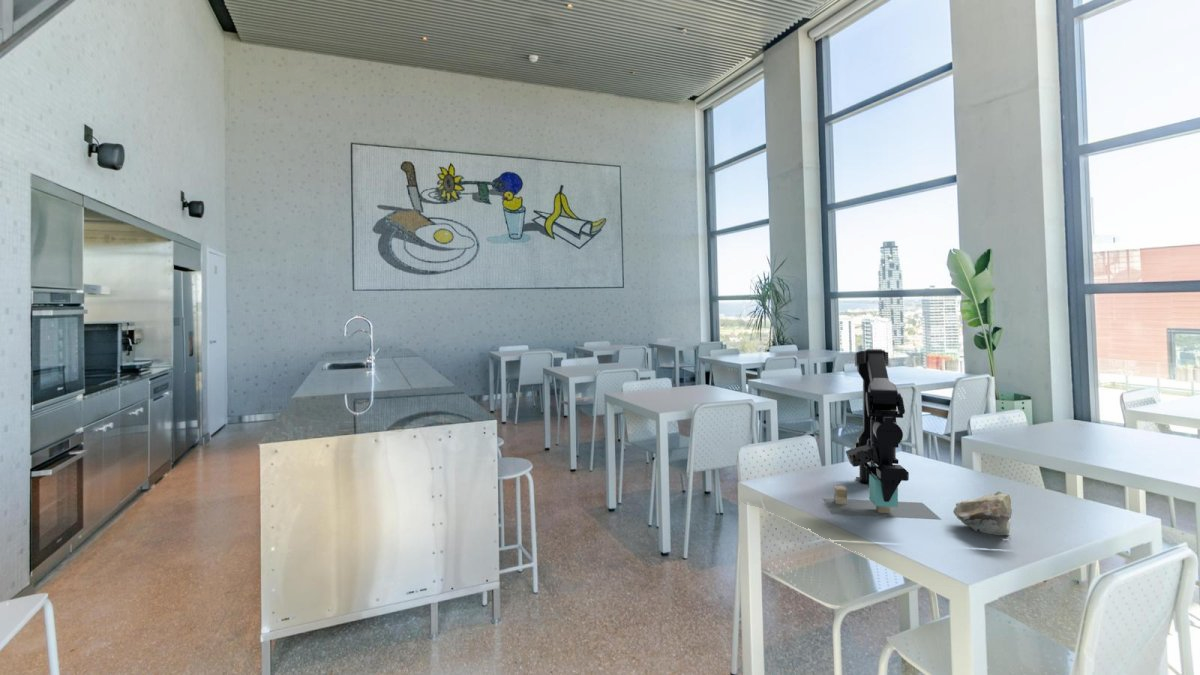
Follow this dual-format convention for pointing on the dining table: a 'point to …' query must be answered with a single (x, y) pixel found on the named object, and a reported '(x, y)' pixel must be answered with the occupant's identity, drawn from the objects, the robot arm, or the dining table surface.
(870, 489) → the teal rectangular block
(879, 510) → the post
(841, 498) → the tan block
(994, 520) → the stone
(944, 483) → the dining table surface
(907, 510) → the mat
